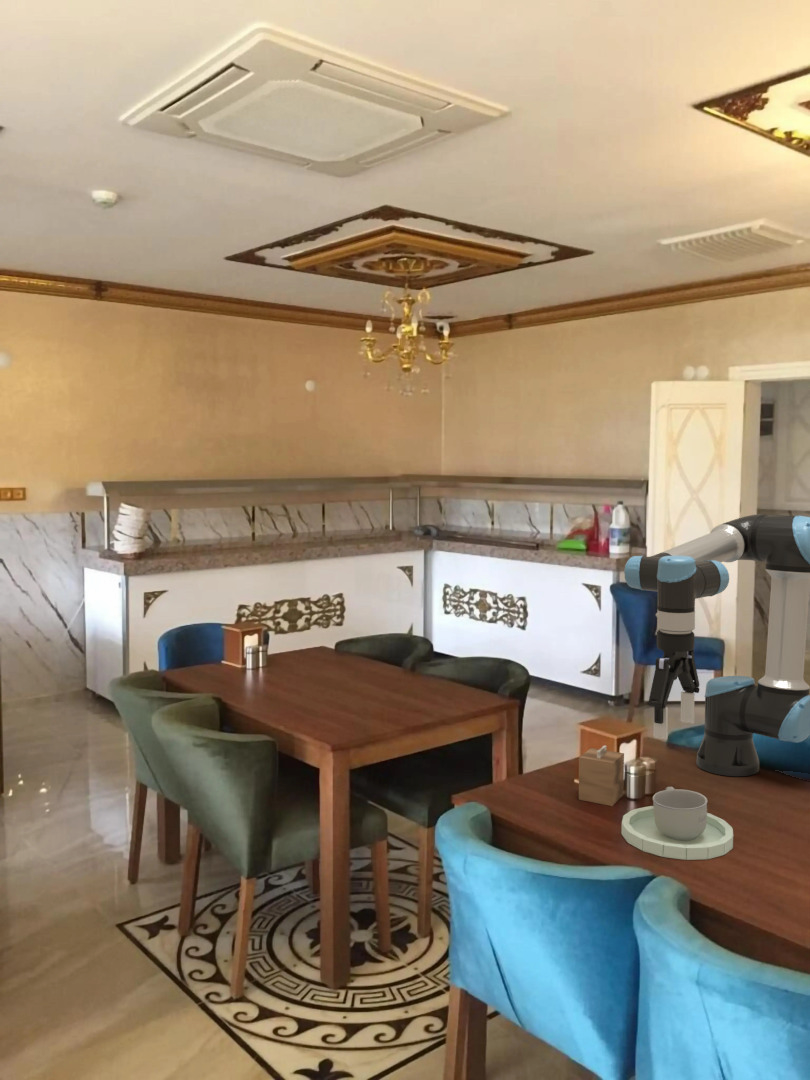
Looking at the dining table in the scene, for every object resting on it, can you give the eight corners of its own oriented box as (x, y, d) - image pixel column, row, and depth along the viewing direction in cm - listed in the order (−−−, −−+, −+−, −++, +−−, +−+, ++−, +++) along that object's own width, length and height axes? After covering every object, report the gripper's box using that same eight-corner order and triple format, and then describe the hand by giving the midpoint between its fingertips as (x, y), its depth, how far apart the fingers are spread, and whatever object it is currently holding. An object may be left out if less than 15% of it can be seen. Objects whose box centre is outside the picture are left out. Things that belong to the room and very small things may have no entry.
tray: (651, 808, 207) (651, 798, 206) (749, 834, 192) (749, 823, 192) (602, 839, 190) (603, 827, 190) (706, 869, 176) (706, 857, 176)
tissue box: (590, 788, 219) (591, 741, 218) (623, 795, 215) (624, 746, 214) (578, 799, 212) (579, 750, 211) (612, 806, 208) (613, 756, 207)
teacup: (709, 847, 184) (710, 808, 183) (653, 843, 186) (654, 804, 185) (701, 820, 198) (702, 784, 197) (649, 817, 200) (649, 781, 199)
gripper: (682, 619, 203) (681, 713, 205) (631, 638, 184) (630, 741, 186) (716, 623, 199) (714, 719, 201) (667, 642, 179) (666, 748, 182)
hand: (674, 730), depth 193 cm, fingers open, 13 cm apart
